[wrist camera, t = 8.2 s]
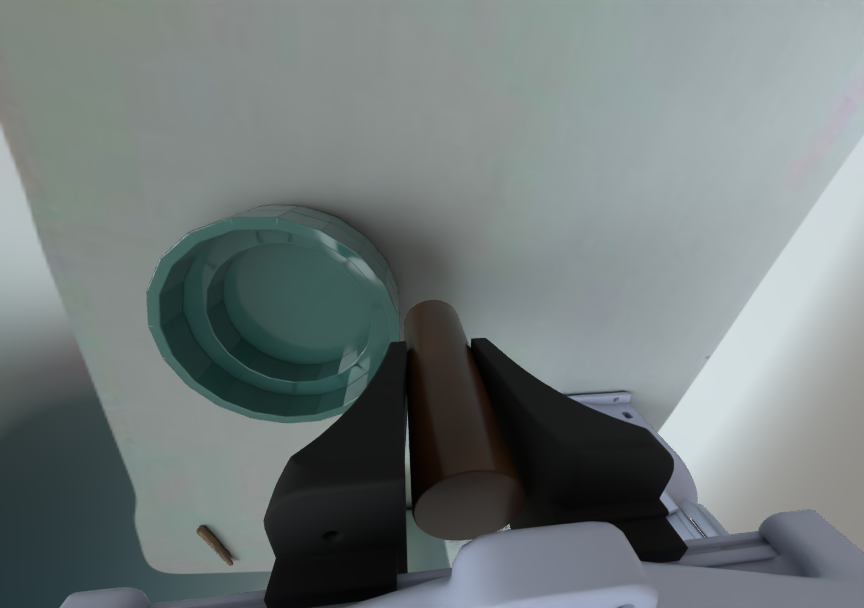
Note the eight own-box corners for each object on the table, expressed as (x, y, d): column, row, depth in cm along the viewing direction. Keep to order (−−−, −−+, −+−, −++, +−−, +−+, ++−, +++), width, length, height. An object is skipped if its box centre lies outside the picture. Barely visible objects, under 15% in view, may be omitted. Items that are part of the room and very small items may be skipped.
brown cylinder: (460, 298, 15) (535, 465, 7) (457, 346, 16) (517, 535, 8) (403, 299, 15) (411, 476, 7) (404, 348, 16) (412, 546, 8)
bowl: (395, 203, 19) (394, 216, 15) (401, 373, 25) (402, 415, 21) (166, 204, 18) (98, 218, 14) (229, 383, 23) (194, 430, 19)
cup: (454, 503, 33) (475, 632, 24) (428, 543, 36) (438, 672, 27) (385, 493, 31) (381, 629, 22) (363, 537, 34) (351, 673, 25)
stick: (236, 559, 33) (233, 565, 33) (230, 559, 33) (227, 566, 33) (205, 524, 30) (201, 531, 30) (198, 526, 30) (194, 532, 30)
